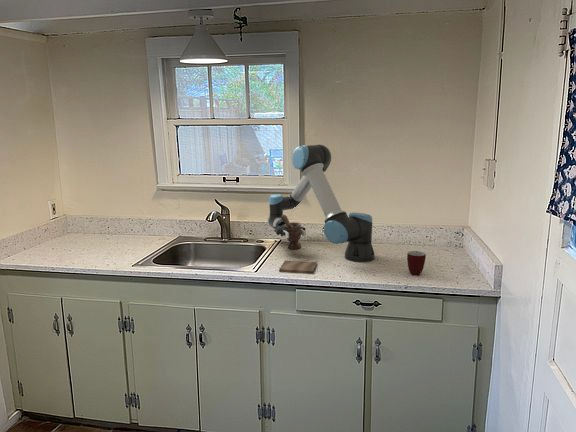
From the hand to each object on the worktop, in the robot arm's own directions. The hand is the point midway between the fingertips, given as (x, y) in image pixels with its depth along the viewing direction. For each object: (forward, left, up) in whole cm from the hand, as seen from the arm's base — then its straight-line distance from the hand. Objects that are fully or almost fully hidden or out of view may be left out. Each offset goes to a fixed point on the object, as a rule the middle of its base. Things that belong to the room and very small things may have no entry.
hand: (296, 234), depth 243 cm
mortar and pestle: (+5, 0, -9) cm, 10 cm away
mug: (-43, -42, -12) cm, 61 cm away
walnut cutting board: (-16, +5, -12) cm, 21 cm away
